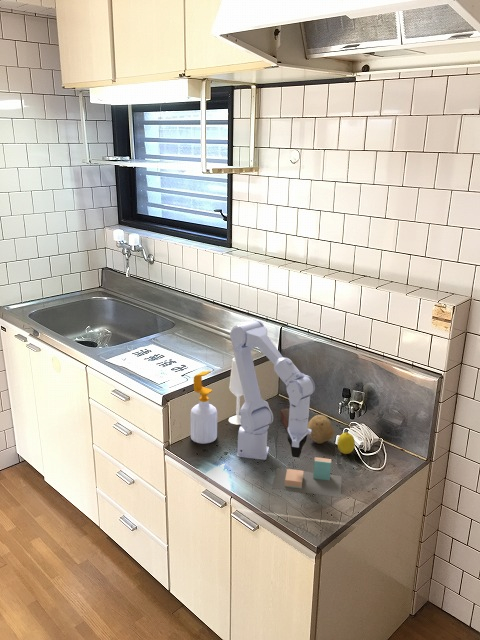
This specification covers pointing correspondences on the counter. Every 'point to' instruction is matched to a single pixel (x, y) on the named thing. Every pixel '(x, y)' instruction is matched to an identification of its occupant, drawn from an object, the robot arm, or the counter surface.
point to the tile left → (294, 478)
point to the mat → (310, 484)
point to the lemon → (346, 443)
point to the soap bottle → (203, 414)
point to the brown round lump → (320, 429)
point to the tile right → (322, 468)
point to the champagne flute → (235, 391)
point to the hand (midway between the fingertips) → (296, 456)
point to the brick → (285, 417)
